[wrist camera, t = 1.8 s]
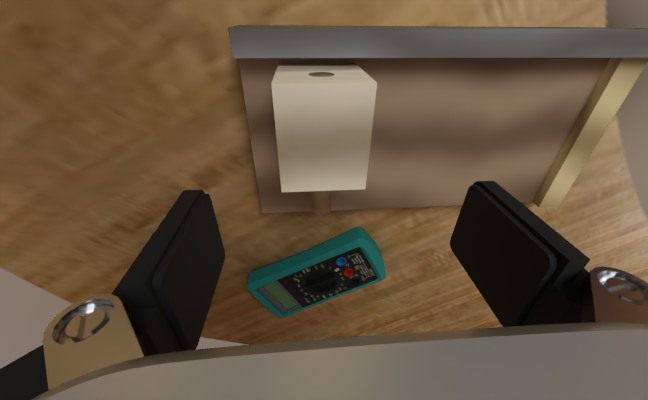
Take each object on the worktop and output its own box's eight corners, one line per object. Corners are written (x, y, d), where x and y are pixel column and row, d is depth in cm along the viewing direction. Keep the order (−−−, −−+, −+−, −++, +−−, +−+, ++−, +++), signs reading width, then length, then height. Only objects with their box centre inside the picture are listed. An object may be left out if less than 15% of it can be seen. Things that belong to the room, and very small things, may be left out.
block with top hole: (278, 63, 18) (271, 83, 13) (355, 63, 18) (377, 82, 13) (287, 183, 23) (285, 231, 18) (347, 181, 23) (361, 227, 18)
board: (239, 25, 18) (227, 27, 15) (630, 27, 20) (686, 30, 17) (264, 200, 26) (259, 224, 23) (541, 190, 28) (570, 210, 25)
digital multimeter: (386, 261, 33) (393, 281, 30) (279, 302, 36) (278, 324, 33) (364, 220, 29) (370, 239, 26) (246, 270, 32) (241, 291, 29)
